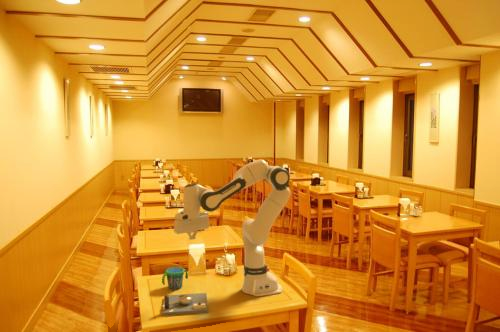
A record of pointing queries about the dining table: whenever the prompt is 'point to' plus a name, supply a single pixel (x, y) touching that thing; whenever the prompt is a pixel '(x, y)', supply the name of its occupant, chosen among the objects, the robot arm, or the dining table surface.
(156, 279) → the dining table surface
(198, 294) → the board
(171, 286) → the snack cup
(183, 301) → the ladle
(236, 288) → the dining table surface
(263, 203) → the robot arm
